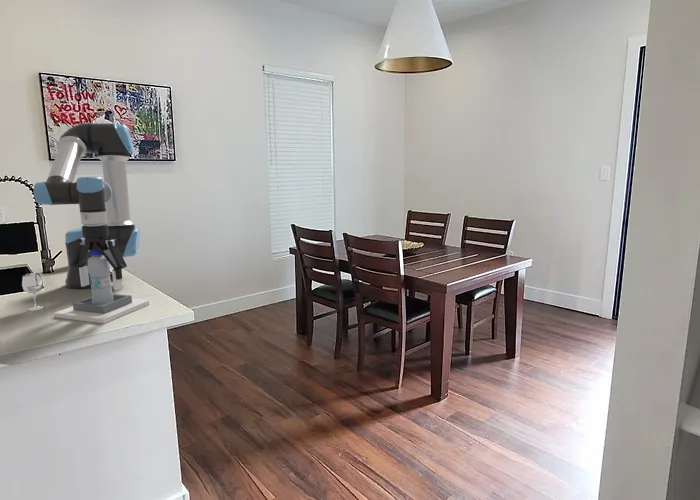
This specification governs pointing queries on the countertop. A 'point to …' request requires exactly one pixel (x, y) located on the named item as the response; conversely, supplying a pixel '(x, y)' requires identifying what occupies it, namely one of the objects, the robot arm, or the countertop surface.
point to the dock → (101, 309)
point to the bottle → (100, 278)
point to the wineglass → (32, 287)
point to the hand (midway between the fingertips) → (101, 287)
